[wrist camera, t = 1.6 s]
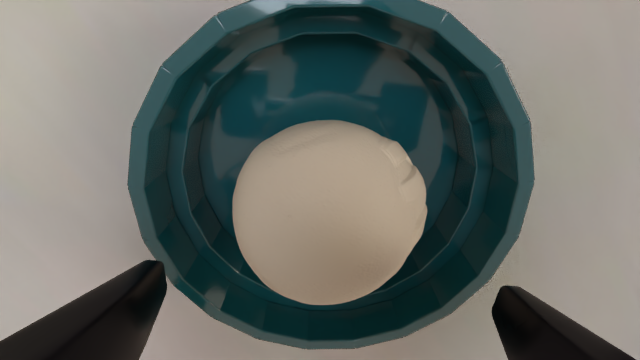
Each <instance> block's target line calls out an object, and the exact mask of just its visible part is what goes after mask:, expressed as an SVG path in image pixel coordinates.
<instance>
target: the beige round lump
mask: <svg viewBox="0 0 640 360" xmlns="http://www.w3.org/2000/svg"><path fill="white" fill-rule="evenodd" d="M425 202H426V187H425V184H424V180H423V177H422V176H421V174H420V172H419V171H418V169H417V167H416V166H413V164H412V162H411V160H410V158H409V157H408V155H407V153H406V152H405V150H404V149H403V148H402V146H401V145H400V144H399V143H398V142H397V141H392V140H391V139H387V138H386V137H382V136H380V135H379V134H378V133H376V132H374V131H372V130H370V129H368V128H366V127H364V126H360V125H357V124H354V123H350V122H346V121H341V120H316V121H309V122H305V123H301V124H296V125H293V126H291V127H288V128H286V129H284V130H282V131H280V132H279V133H276V134H275V135H273V136H272V137H270V138H268V139H266V140H264V141H263V142H262V143H260V144H259V145H258V146H257V147H256V148H255V149H254V150H253V151H252V152H251V154H250V155H249V157H248V159H247V160H246V162H245V163H244V165H243V167H242V169H241V171H240V173H239V176H238V178H237V182H236V187H235V189H234V194H233V201H232V203H233V204H232V205H233V209H232V213H233V225H234V231H235V235H236V239H237V242H238V245H239V248H240V250H241V253H242V255H243V257H244V258H245V260H246V262H247V263H248V265H249V266H250V267H251V269H252V270H253V271H254V273H255V274H256V275H257V276H258V277H259V278H260V280H261V281H262V282H263V283H264V284H265V285H266V286H268V287H269V288H271V289H272V290H273V291H275V292H277V293H279V294H280V295H282V296H284V297H287V298H290V299H292V300H295V301H298V302H301V303H305V304H310V305H331V304H333V305H334V304H341V303H345V302H349V301H352V300H355V299H358V298H361V297H363V296H365V295H367V294H369V293H371V292H373V291H374V290H376V289H377V288H379V287H380V286H382V285H383V284H384V283H385V282H386V281H388V280H389V279H390V278H391V277H392V276H393V275H395V274H396V273H397V272H398V271H399V269H400V268H401V267H402V265H403V264H404V262H405V260H406V258H407V257H408V255H409V254H410V252H411V251H412V249H413V247H414V246H415V245H416V243H417V242H418V240H419V239H420V237H421V235H422V233H423V230H424V225H425V220H426V216H427V206H426V204H425Z"/></svg>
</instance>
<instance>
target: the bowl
mask: <svg viewBox="0 0 640 360" xmlns="http://www.w3.org/2000/svg"><path fill="white" fill-rule="evenodd" d="M316 120H341V121H346V122H350V123H354V124H357V125H360V126H364V127H366V128H368V129H370V130H372V131H374V132H376V133H378V134H379V135H380V136H382V137H386V138H387V139H391V140H392V141H397V142H398V143H399V144H400V145H401V146H402V148H403V149H404V150H405V152H406V153H407V155H408V157H409V158H410V160H411V162H412V164H413V166H416V167H417V169H418V171H419V172H420V174H421V176H422V177H423V180H424V184H425V187H426V202H425V204H426V206H427V216H426V220H425V225H424V230H423V233H422V235H421V237H420V239H419V240H418V242H417V243H416V245H415V246H414V247H413V249H412V251H411V252H410V254H409V255H408V257H407V258H406V260H405V262H404V264H403V265H402V267H401V268H400V269H399V271H398V272H397V273H396V274H395V275H393V276H392V277H391V278H390V279H389V280H388V281H386V282H385V283H384V284H383V285H382V286H380V287H379V288H377V289H376V290H374V291H373V292H371V293H369V294H367V295H365V296H363V297H361V298H358V299H355V300H352V301H349V302H345V303H341V304H334V305H333V304H331V305H310V304H305V303H301V302H298V301H295V300H292V299H290V298H287V297H284V296H282V295H280V294H279V293H277V292H275V291H273V290H272V289H271V288H269V287H268V286H266V285H265V284H264V283H263V282H262V281H261V280H260V278H259V277H258V276H257V275H256V274H255V273H254V271H253V270H252V269H251V267H250V266H249V265H248V263H247V262H246V260H245V258H244V257H243V255H242V253H241V250H240V248H239V245H238V242H237V239H236V235H235V231H234V225H233V213H232V209H233V205H232V204H233V203H232V201H233V194H234V189H235V187H236V182H237V178H238V176H239V173H240V171H241V169H242V167H243V165H244V163H245V162H246V160H247V159H248V157H249V155H250V154H251V152H252V151H253V150H254V149H255V148H256V147H257V146H258V145H259V144H260V143H262V142H263V141H264V140H266V139H268V138H270V137H272V136H273V135H275V134H276V133H279V132H280V131H282V130H284V129H286V128H288V127H291V126H293V125H296V124H301V123H305V122H309V121H316ZM529 120H530V118H529V116H528V114H527V112H526V110H525V108H524V106H523V104H522V102H521V100H520V98H519V95H518V93H517V91H516V89H515V87H514V85H513V83H512V81H511V79H510V77H509V75H508V73H507V70H506V68H505V66H504V64H503V62H502V61H501V59H500V58H499V57H498V56H497V55H496V54H495V53H493V52H492V51H491V50H490V49H489V48H488V47H487V46H486V45H485V44H484V43H482V42H481V41H480V40H479V39H478V38H477V37H476V36H475V35H474V34H473V33H471V32H470V31H469V30H468V29H467V28H466V27H465V26H464V25H463V24H462V23H460V22H459V21H458V20H457V19H456V18H455V17H454V16H453V15H452V14H451V13H449V12H447V11H446V10H444V9H441V8H438V7H436V6H433V5H430V4H428V3H425V2H422V1H420V0H249V1H247V2H244V3H242V4H239V5H237V6H234V7H232V8H229V9H227V10H224V11H222V12H219V13H218V14H217V15H214V16H213V17H212V18H211V19H210V20H209V21H208V22H207V23H205V24H204V25H203V26H202V27H201V28H200V29H199V30H198V31H197V32H196V33H195V34H194V35H193V36H191V37H190V38H189V39H188V40H187V41H186V42H185V43H184V44H183V45H182V46H181V47H180V48H179V49H177V50H176V51H175V52H174V53H173V54H172V55H171V56H170V57H169V58H168V59H167V60H166V61H164V62H163V64H162V66H160V68H159V70H158V72H157V75H156V77H155V79H154V81H153V83H152V85H151V87H150V89H149V91H148V93H147V95H146V97H145V100H144V102H143V104H142V106H141V108H140V110H139V112H138V114H137V116H136V118H135V120H134V122H133V126H132V132H131V145H130V158H129V171H128V190H129V193H130V197H131V200H132V204H133V208H134V211H135V215H136V218H137V222H138V225H139V229H140V232H141V236H142V239H143V240H144V243H145V244H146V246H147V247H148V249H149V250H150V252H151V253H152V255H153V256H154V258H155V259H156V261H161V262H163V264H164V267H165V274H166V276H167V277H168V279H169V280H170V282H171V283H172V284H173V286H175V287H176V288H177V289H178V290H179V291H181V292H182V293H183V294H184V295H185V296H187V297H188V298H189V299H190V300H191V301H193V302H194V303H195V304H196V305H197V306H199V307H200V308H201V309H202V310H203V311H204V312H206V313H207V314H208V315H209V316H210V317H213V318H214V319H216V320H218V321H220V322H222V323H224V324H226V325H229V326H231V327H233V328H235V329H237V330H239V331H241V332H243V333H245V334H248V335H250V336H252V337H254V338H256V339H257V338H258V339H259V340H264V341H269V342H273V343H278V344H283V345H287V346H292V347H297V348H301V349H355V348H361V347H365V346H369V345H374V344H378V343H382V342H386V341H390V340H394V339H399V338H403V337H406V336H408V335H410V334H412V333H414V332H416V331H418V330H420V329H422V328H424V327H426V326H428V325H430V324H432V323H434V322H436V321H438V320H440V319H442V318H444V317H446V316H448V315H449V314H451V313H452V312H454V311H455V310H456V309H457V308H458V307H459V306H461V305H462V304H463V303H464V302H465V301H466V300H468V299H469V298H470V297H471V296H472V295H473V294H475V293H476V292H477V291H478V290H479V289H480V288H482V287H483V286H484V285H485V284H486V283H487V282H489V280H490V279H491V278H492V276H493V275H494V273H495V272H496V270H497V269H498V267H499V266H500V264H501V263H502V261H503V260H504V258H505V257H506V255H507V254H508V252H509V251H510V249H511V248H512V246H513V245H514V243H515V242H516V240H517V239H518V237H519V234H520V231H521V228H522V224H523V221H524V217H525V214H526V210H527V207H528V203H529V200H530V196H531V193H532V189H533V186H534V180H535V178H534V163H533V149H532V135H531V122H530V121H529Z"/></svg>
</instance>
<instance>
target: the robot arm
mask: <svg viewBox="0 0 640 360" xmlns="http://www.w3.org/2000/svg"><path fill="white" fill-rule="evenodd" d="M166 290H167V283H166V275H165V267H164V264H163V262H161V261H154V260H146V261H143V262H141V263H140V264H138V265H136V266H134V267H132V268H131V269H129V270H127V271H125V272H124V273H122V274H120V275H118V276H116V277H115V278H113V279H111V280H109V281H107V282H106V283H104V284H102V285H100V286H98V287H97V288H95V289H93V290H91V291H90V292H88V293H86V294H84V295H82V296H81V297H79V298H77V299H75V300H73V301H72V302H70V303H68V304H66V305H64V306H63V307H61V308H59V309H57V310H55V311H54V312H52V313H50V314H48V315H47V316H45V317H43V318H41V319H39V320H38V321H36V322H34V323H32V324H30V325H29V326H27V327H25V328H23V329H21V330H20V331H18V332H16V333H14V334H13V335H11V336H9V337H7V338H5V339H4V340H2V341H0V360H139V358H140V356H141V354H142V352H143V349H144V347H145V345H146V342H147V340H148V337H149V335H150V332H151V330H152V327H153V325H154V322H155V320H156V317H157V315H158V312H159V310H160V307H161V305H162V302H163V300H164V297H165V295H166ZM492 317H493V320H494V323H495V325H496V328H497V331H498V333H499V336H500V339H501V341H502V344H503V347H504V350H505V352H506V355H507V358H508V360H636V359H634V358H633V357H631V356H629V355H628V354H626V353H625V352H623V351H621V350H620V349H618V348H617V347H615V346H613V345H612V344H610V343H609V342H607V341H605V340H604V339H602V338H601V337H599V336H597V335H596V334H594V333H593V332H591V331H589V330H588V329H586V328H585V327H583V326H581V325H580V324H578V323H577V322H575V321H573V320H572V319H570V318H569V317H567V316H565V315H564V314H562V313H561V312H559V311H557V310H556V309H554V308H553V307H551V306H549V305H548V304H546V303H545V302H543V301H541V300H540V299H538V298H537V297H535V296H533V295H532V294H530V293H529V292H527V291H525V290H524V289H522V288H520V287H518V286H502V287H501V288H500V290H499V292H498V295H497V297H496V300H495V302H494V304H493V307H492Z"/></svg>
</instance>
